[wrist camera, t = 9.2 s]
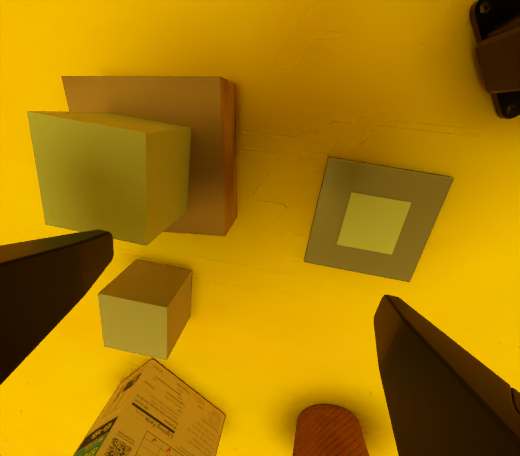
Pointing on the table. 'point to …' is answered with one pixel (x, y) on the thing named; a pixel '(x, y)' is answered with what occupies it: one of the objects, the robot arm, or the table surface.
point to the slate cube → (146, 308)
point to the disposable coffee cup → (328, 433)
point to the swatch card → (374, 218)
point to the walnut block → (184, 114)
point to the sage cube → (111, 172)
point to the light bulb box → (154, 419)
